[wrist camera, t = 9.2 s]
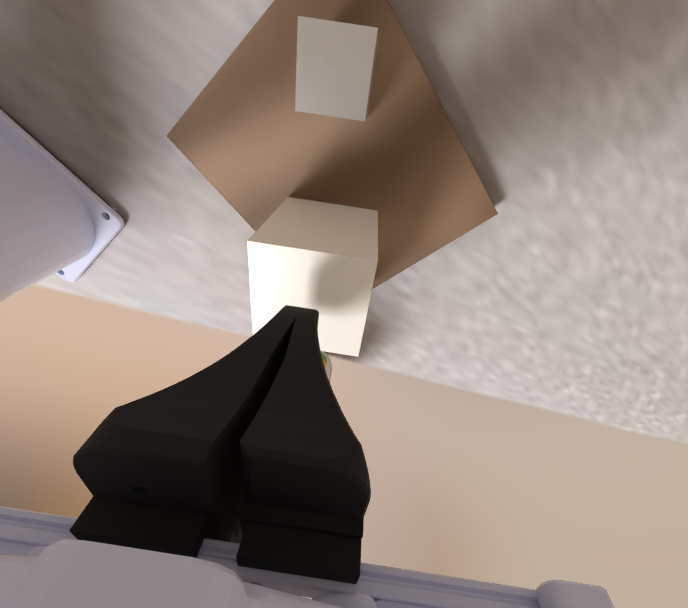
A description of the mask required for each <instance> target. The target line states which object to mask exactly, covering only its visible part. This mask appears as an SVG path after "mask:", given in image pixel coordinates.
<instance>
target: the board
mask: <svg viewBox="0 0 688 608" xmlns="http://www.w3.org/2000/svg"><path fill="white" fill-rule="evenodd" d="M298 16H302V17H309V18H316V19H322V20H329V21H336V22H343V23H350V24H356V25H363V26H370V27H377V28H378V50H377V57H376V64H375V71H374V78H373V85H372V92H371V99H370V106H369V113H368V117H367V119H366V120H365V121H359V120H352V119H346V118H339V117H332V116H326V115H319V114H312V113H305V112H299V111H295V97H296V61H297V25H298ZM167 137H168V138H169V139H170V140H171V141H172V142H173V143H174V144H175V145H176V147H177V148H178V149H179V150H180V151H181V152H182V153H183V154H184V155H185V156H186V157H187V158H188V159H189V161H190V162H191V163H192V164H193V165H194V166H195V167H196V168H197V169H198V170H199V171H200V172H201V173H202V174H203V176H204V177H205V178H206V179H207V180H208V181H209V182H210V183H211V184H212V185H213V186H214V187H215V188H216V190H217V191H218V192H219V193H220V194H221V195H222V196H223V197H224V198H225V199H226V200H227V201H228V202H229V204H230V205H231V206H232V207H233V208H234V209H235V210H236V211H237V212H238V213H239V214H240V215H241V216H242V217H243V219H244V220H245V221H246V222H247V223H248V224H249V225H250V226H251V227H252V228H253V229H254V230H255V231H257V230H258V229H259V228H260V227H261V225H262V224H263V223H264V222H265V221H266V220H267V219H268V218H269V217H270V216H271V215H272V214H273V213H274V211H275V210H276V209H277V208H278V207H279V206H280V205H281V204H282V203H283V202H284V201H285V200H286V198H287V197H292V198H299V199H305V200H312V201H318V202H325V203H331V204H338V205H345V206H351V207H358V208H364V209H371V210H378V263H377V268H376V272H375V277H374V282H373V287H372V289H373V288H375V287H376V286H378V285H380V284H381V283H383V282H385V281H386V280H388V279H390V278H391V277H393V276H395V275H396V274H398V273H400V272H401V271H403V270H405V269H406V268H408V267H410V266H411V265H413V264H415V263H416V262H418V261H420V260H421V259H423V258H425V257H426V256H428V255H430V254H431V253H433V252H435V251H436V250H438V249H440V248H441V247H443V246H445V245H446V244H448V243H450V242H451V241H453V240H455V239H456V238H458V237H460V236H461V235H463V234H465V233H466V232H468V231H470V230H471V229H473V228H475V227H476V226H478V225H480V224H482V223H483V222H485V221H487V220H488V219H490V218H492V217H493V216H495V215H497V214H498V213H497V211H496V209H495V207H494V205H493V203H492V201H491V199H490V197H489V196H488V194H487V192H486V190H485V188H484V186H483V184H482V182H481V180H480V178H479V176H478V174H477V172H476V170H475V169H474V167H473V165H472V163H471V161H470V159H469V157H468V155H467V153H466V151H465V149H464V147H463V145H462V143H461V142H460V140H459V138H458V136H457V134H456V132H455V130H454V128H453V126H452V124H451V122H450V120H449V118H448V116H447V115H446V113H445V111H444V109H443V107H442V105H441V103H440V101H439V99H438V97H437V95H436V93H435V91H434V89H433V88H432V86H431V84H430V82H429V80H428V78H427V76H426V74H425V72H424V70H423V68H422V66H421V64H420V62H419V61H418V59H417V57H416V55H415V53H414V51H413V49H412V47H411V45H410V43H409V41H408V39H407V37H406V35H405V34H404V32H403V30H402V28H401V26H400V24H399V22H398V20H397V18H396V16H395V14H394V12H393V10H392V8H391V7H390V5H389V3H388V1H387V0H275V1H274V2H273V3H272V4H271V6H270V7H269V8H268V9H267V11H266V12H265V13H264V14H263V16H262V17H261V18H260V19H259V21H258V22H257V23H256V24H255V26H254V27H253V28H252V29H251V31H250V32H249V33H248V34H247V36H246V37H245V38H244V39H243V41H242V42H241V43H240V44H239V46H238V47H237V48H236V49H235V51H234V52H233V53H232V54H231V56H230V57H229V58H228V59H227V61H226V62H225V63H224V64H223V66H222V67H221V68H220V69H219V71H218V72H217V73H216V74H215V76H214V77H213V78H212V80H211V81H210V82H209V83H208V85H207V86H206V87H205V88H204V90H203V91H202V92H201V93H200V95H199V96H198V97H197V98H196V100H195V101H194V102H193V103H192V105H191V106H190V107H189V108H188V110H187V111H186V112H185V113H184V115H183V116H182V117H181V118H180V120H179V121H178V122H177V123H176V125H175V126H174V127H173V128H172V130H171V131H170V132H169V133H168V135H167Z"/></svg>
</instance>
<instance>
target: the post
mask: <svg viewBox="0 0 688 608" xmlns="http://www.w3.org/2000/svg"><path fill="white" fill-rule="evenodd" d="M377 50H378V28H377V27H370V26H363V25H356V24H350V23H343V22H336V21H329V20H322V19H316V18H309V17H302V16H298V25H297V61H296V97H295V111H299V112H305V113H312V114H319V115H326V116H332V117H339V118H346V119H352V120H359V121H365V120H366V119H367V117H368V113H369V106H370V99H371V92H372V85H373V78H374V71H375V64H376V57H377Z"/></svg>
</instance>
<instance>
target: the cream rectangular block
mask: <svg viewBox="0 0 688 608" xmlns="http://www.w3.org/2000/svg"><path fill="white" fill-rule="evenodd" d="M247 246H248V263H249V280H250V297H251V314H252V331H253V335H254V334H255V333H256V332H257V331H258V330H260V329H261V328H262V327H263V326H264V325H265V324H266V323H267V322H269V321H270V320H271V319H272V318H273V317H274V316H275V315H276V314H277V313H278V312H279V311H280V310H281V309H282V308H283V307H284V306H286V305H289V306H296V307H302V308H309V309H315V310H317V311H318V312H319V319H318V339H319V345H320V351H325V352H331V353H338V354H344V355H351V356H357V357H358V355H359V351H360V346H361V341H362V336H363V331H364V326H365V321H366V316H367V311H368V307H369V302H370V297H371V292H372V287H373V282H374V277H375V272H376V268H377V263H378V210H371V209H364V208H358V207H351V206H345V205H338V204H331V203H325V202H318V201H312V200H305V199H299V198H292V197H287V198H286V200H285V201H284V202H283V203H282V204H281V205H280V206H279V207H278V208H277V209H276V210H275V211H274V213H273V214H272V215H271V216H270V217H269V218H268V219H267V220H266V221H265V222H264V223H263V224H262V225H261V227H260V228H259V229H258V230H257V231H256V232H255V233H254V234H253V235H252V236H251V237H250V238H249V239H248V241H247Z"/></svg>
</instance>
